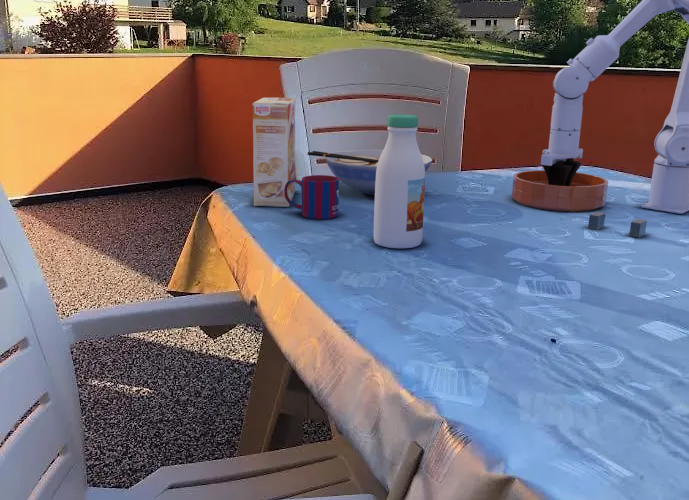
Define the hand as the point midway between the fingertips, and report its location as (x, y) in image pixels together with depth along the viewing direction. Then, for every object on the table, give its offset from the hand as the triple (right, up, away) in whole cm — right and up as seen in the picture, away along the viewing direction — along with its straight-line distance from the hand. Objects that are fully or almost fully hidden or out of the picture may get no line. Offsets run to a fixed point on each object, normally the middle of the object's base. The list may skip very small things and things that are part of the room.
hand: (558, 197), depth 144 cm
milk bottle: (-35, -10, -32) cm, 48 cm away
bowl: (0, -1, 0) cm, 1 cm away
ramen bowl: (-37, +1, +7) cm, 37 cm away
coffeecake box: (-57, -1, -2) cm, 57 cm away
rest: (+3, -8, -22) cm, 23 cm away
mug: (-49, -4, -14) cm, 52 cm away
